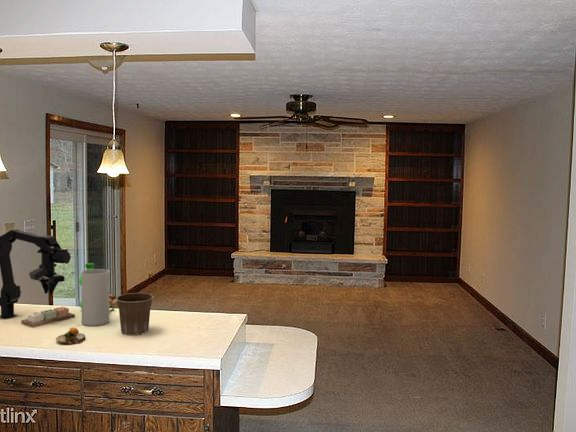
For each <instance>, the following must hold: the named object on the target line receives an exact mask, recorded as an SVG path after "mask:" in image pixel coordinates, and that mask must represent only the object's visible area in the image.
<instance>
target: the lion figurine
mask: <svg viewBox="0 0 576 432" xmlns="http://www.w3.org/2000/svg"><path fill="white" fill-rule="evenodd" d="M114 308H115V307H114V302H113V299H111V298H109V309H111V311H115V309H114Z"/></svg>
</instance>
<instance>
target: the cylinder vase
mask: <svg viewBox="0 0 576 432" xmlns="http://www.w3.org/2000/svg"><path fill="white" fill-rule="evenodd" d="M80 276H81V285H80V286H81V300H82V309H81V323H82V325H84V326H88V327H96V326H97V327H98V326H103V325H106V324H108V323H109V322H110V305H109V299H110V270H109V269H103V268H93V269H91V270H87V269H86V270H82V271H81V274H80Z"/></svg>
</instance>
